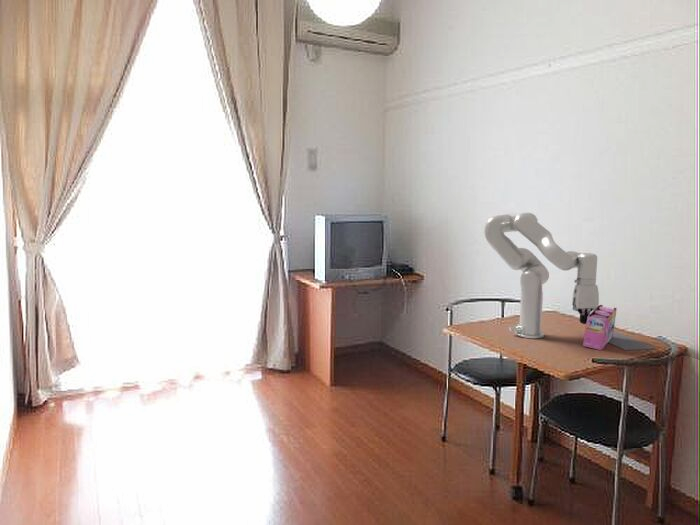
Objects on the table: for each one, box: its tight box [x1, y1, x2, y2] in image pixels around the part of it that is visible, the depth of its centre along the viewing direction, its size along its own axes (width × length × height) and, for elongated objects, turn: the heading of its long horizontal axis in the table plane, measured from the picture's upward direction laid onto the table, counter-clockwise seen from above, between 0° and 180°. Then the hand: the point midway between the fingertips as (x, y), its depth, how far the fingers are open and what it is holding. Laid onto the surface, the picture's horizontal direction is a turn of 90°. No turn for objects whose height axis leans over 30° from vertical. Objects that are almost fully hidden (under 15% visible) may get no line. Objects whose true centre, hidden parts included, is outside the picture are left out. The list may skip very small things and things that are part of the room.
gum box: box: [582, 304, 618, 351], centre depth 240 cm, size 24×8×14 cm, turn 144°
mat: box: [607, 331, 656, 351], centre depth 243 cm, size 14×24×1 cm, turn 10°
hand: (583, 323), depth 239 cm, fingers closed
